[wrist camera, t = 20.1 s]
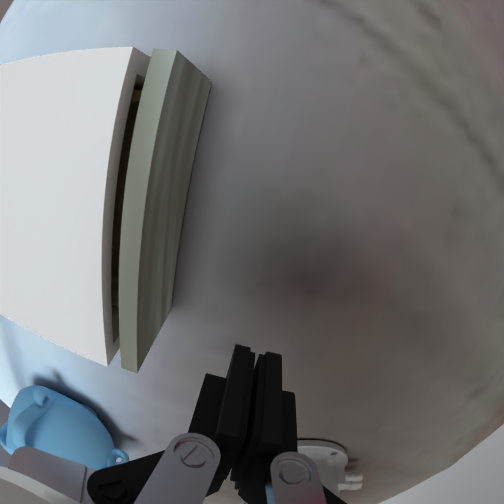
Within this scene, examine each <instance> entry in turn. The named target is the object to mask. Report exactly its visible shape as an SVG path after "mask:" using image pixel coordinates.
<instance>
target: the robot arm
mask: <svg viewBox="0 0 504 504" xmlns="http://www.w3.org/2000/svg"><path fill="white" fill-rule="evenodd" d="M250 349H251V348H250V347H245V346H241V345H237V344H236V345H235V348H234V352H233V355H232V359H231V362H230V366H229V369H228V373H227V376H226V378H223V377H219V376H215V375H211V374H208V373H206V375H205V378H204V382H203V385H202V388H201V391H200V395H199V398H198V401H197V404H196V408H195V411H194V414H193V417H192V421H191V424H190V427H189V431H188V433H185V434H180V435H178V436H177V437H175V438H174V439H173V440H172V441H171V442H170V443H169V445H168V447H167V449H166V450H164V451H161V452H158V453H155V454H152V455H149V456H145V457H142V458H139V459H136V460H132V461H129V462H125V463H122V464H118V465H114V466H110V467H106V468H102V469H99V470H96V469H92V468H88V467H86V465H84V464H81V463H77V462H74V461H71V460H67V459H64V458H61V457H58V456H55V455H52V454H49V453H47V452H44V451H41V450H39V449H36V448H33V447H29V446H23V447H19V448H18V449H16V450H15V451H14V453H13V454H12V456H11V459H10V463H9V466H8V468H4V467H1V466H0V504H202V503H203V501H204V499H205V497H207V496H209V495H211V494H213V493H215V492H217V491H219V489H220V487H221V485H222V483H223V481H224V479H225V480H226V478H227V476H228V474H229V472H230V470H231V468H232V470H231V477H230V481H236V482H235V489H239V491H238V495H239V496H240V497H241V498H242V499H243V500H244V504H347V503H345V502H344V501H343V500H341V499H340V496H339V491H340V490H359V489H360V488H361V487H362V484H363V480H362V479H363V472H352V473H347V471H345V470H344V468H345V467H346V465H347V463H348V457H347V453H346V450H345V449H344V448H343V447H341V446H339V445H337V444H334V443H331V442H326V441H319V440H297V423H296V403H295V394H294V393H293V392H287V391H282V355H280V354H276V353H271V352H266V353H265V355H262V354H259V357H258V360H257V362H256V365H255V368H254V363H255V353H254V352H250Z"/></svg>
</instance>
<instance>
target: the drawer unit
mask: <svg viewBox="0 0 504 504" xmlns="http://www.w3.org/2000/svg"><path fill="white" fill-rule="evenodd" d="M150 59H151V57H149V56H148V55H146V54H144V53H143V52H141V51H139V50H138V49H136V48H134V47H110V48H94V49H83V50H74V51H65V52H58V53H52V54H46V55H40V56H35V57H30V58H25V59H20V60H16V61H12V62H8V63H4V64H0V314H1V315H3V316H4V317H6V318H8V319H9V320H11V321H13V322H14V323H16V324H18V325H20V326H22V327H23V328H25V329H27V330H29V331H31V332H33V333H35V334H36V335H38V336H40V337H42V338H44V339H46V340H48V341H50V342H52V343H54V344H56V345H59V346H61V347H63V348H65V349H67V350H69V351H72V352H74V353H76V354H78V355H81V356H83V357H85V358H88V359H90V360H92V361H95V362H97V363H100V364H102V365H105V366H107V367H108V365H109V364H110V362H111V361H112V359H113V357H114V356H115V354H116V353H117V351H118V350H119V348H120V334H119V307H117V306H114V305H111V259H112V234H113V219H114V206H115V196H116V186H117V178H118V170H119V163H120V156H121V149H122V143H123V137H124V131H125V126H126V121H127V116H128V111H129V106H130V102H131V97H132V93H133V90H143V86H144V82H145V78H146V74H147V70H148V66H149V63H150Z"/></svg>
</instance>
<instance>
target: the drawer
mask: <svg viewBox="0 0 504 504" xmlns="http://www.w3.org/2000/svg"><path fill="white" fill-rule="evenodd" d="M211 83H212V82H211V81H210V80H209V79H208V78H207V77H206V76H205V75H204V74H203V73H202V72H201V71H200V70H198V69H197V68H196V67H195V66H194V65H193V64H192V63H191V62H190V61H189V60H188V59H186V58H185V57H184V56H183V55H182V54H181V53H180V52H179V51H177V50H168V49H153V52H152V56H151V59H150V63H149V66H148V70H147V74H146V78H145V82H144V86H143V90H133V93H132V97H131V102H130V106H129V111H128V116H127V121H126V126H125V131H124V137H123V143H122V149H121V156H120V163H119V170H118V178H117V186H116V196H115V206H114V219H113V234H112V259H111V305H114V306H117V307H119V334H120V352H121V366H122V368H124V369H126V370H129V371H132V372H135V373H138V371H139V369H140V367H141V365H142V363H143V361H144V359H145V357H146V356H147V354H148V352H149V350H150V348H151V346H152V344H153V342H154V340H155V338H156V337H157V335H158V333H159V331H160V329H161V327H162V325H163V324H164V322H165V320H166V318H167V316H168V314H169V312H170V311H171V303H172V294H173V285H174V277H175V269H176V262H177V255H178V248H179V241H180V234H181V228H182V222H183V215H184V209H185V204H186V198H187V192H188V187H189V181H190V176H191V171H192V166H193V161H194V156H195V151H196V146H197V142H198V137H199V133H200V128H201V124H202V119H203V115H204V111H205V107H206V103H207V99H208V95H209V91H210V87H211Z"/></svg>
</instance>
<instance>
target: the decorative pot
mask: <svg viewBox="0 0 504 504" xmlns="http://www.w3.org/2000/svg"><path fill="white" fill-rule="evenodd" d="M6 438H7V443H6ZM0 443H1V445H2V446H3V448H4V449H5V450H6V451H7V452H8V453H10V454H11V455H12V454H13V453H14V451H15V450H16V449H18V448H19V447H23V446H29V447H33V448H36V449H39V450H41V451H44V452H47V453H49V454H52V455H55V456H58V457H61V458H64V459H67V460H71V461H74V462H77V463H81V464H84V465H86V467H88V468H92V469H96V470H99V469H102V468H106V467H110V466H114V465H118V464H122V463H125V462H129V456H128V455H127V454H126V453H125V452H124V451H122V450H121V449H118V448H115V447H114V444H113V440H112V438H111V436H110V434H109V432H108V431H107V429H106V428H105V426H104V425H103V424H102V423H101V421H100V420H99V419H98V418H97V414H96V412H95V411H94V410H93V409H91V408H90V407H88V406H86V405H83V404H79V403H77V402H76V401H74V400H72V399H70V398H68V397H66V396H64V395H62V394H60V393H58V392H56V391H53V390H51V389H48V388H46V387H44V386H39V385H36V386H30V387H26V388H23V389H22V390H20V392H19V393H18V394H17V396H16V398H15V400H14V402H13V404H12V407H11V410H10V414H9V419H8V422H6V423H5V424H4V425H3V426H2V427H1V428H0ZM118 457H121V458H122V461H121V462H119V463H118V462H116V459H117V458H118Z"/></svg>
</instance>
